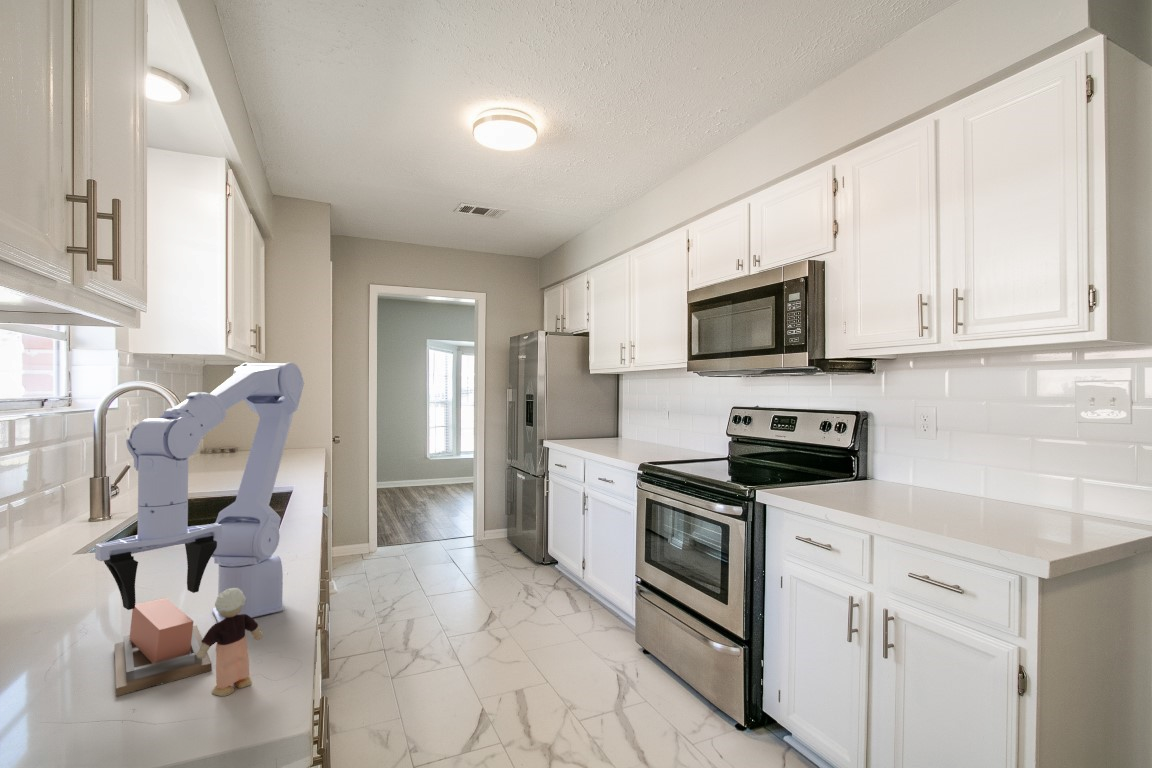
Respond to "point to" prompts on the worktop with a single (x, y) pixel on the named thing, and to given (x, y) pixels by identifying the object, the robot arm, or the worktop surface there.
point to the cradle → (155, 666)
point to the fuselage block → (161, 630)
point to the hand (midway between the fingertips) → (162, 599)
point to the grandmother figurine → (230, 642)
